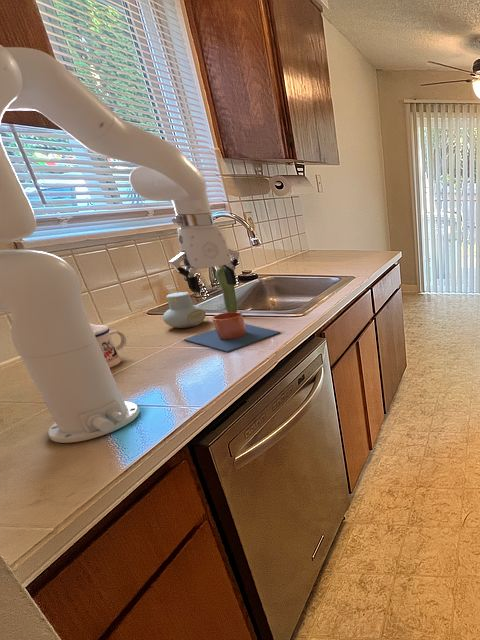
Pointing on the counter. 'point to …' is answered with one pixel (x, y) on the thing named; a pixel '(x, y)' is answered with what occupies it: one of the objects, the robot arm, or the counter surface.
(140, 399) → the counter surface
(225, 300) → the vegetable
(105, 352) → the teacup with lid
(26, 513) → the counter surface
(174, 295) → the air freshener
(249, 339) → the mat
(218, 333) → the terracotta flower pot
